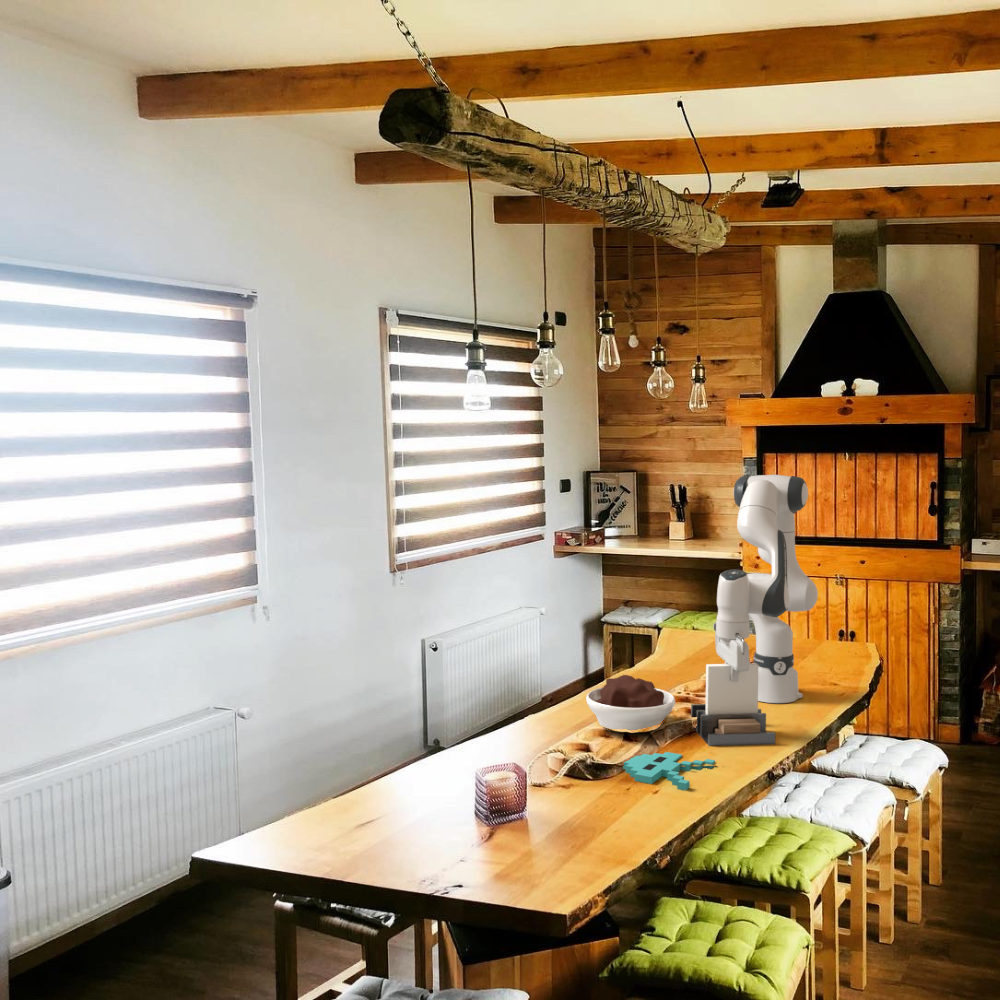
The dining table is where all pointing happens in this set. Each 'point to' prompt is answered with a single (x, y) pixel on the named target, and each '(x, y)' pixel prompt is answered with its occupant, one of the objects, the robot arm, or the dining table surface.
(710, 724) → the rack
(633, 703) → the bowl of chocolate
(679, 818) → the dining table surface
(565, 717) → the dining table surface
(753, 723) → the offcut upper
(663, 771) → the alien figure
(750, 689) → the tall sheet
